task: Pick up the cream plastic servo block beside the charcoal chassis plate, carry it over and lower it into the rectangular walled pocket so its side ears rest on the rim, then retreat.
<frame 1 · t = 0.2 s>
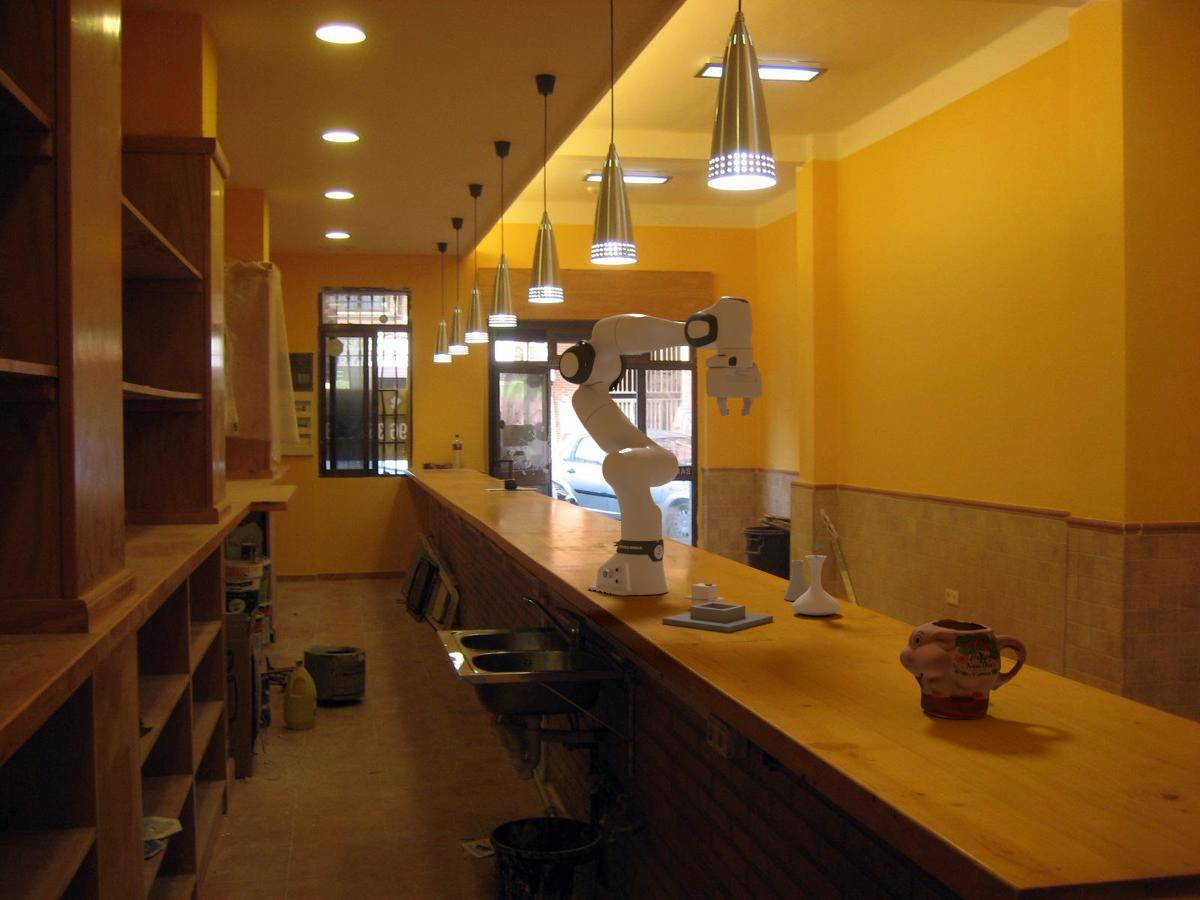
hand: (735, 416, 287), 47 cm above the worktop, tool pointing down, fingers open, 8 cm apart
flask: (797, 600, 293), on the worktop
sculpted ceramic mug: (963, 713, 179), on the worktop
chassis plate: (717, 622, 260), on the worktop
flower in vase: (817, 614, 271), on the worktop
servo block: (704, 609, 279), on the worktop
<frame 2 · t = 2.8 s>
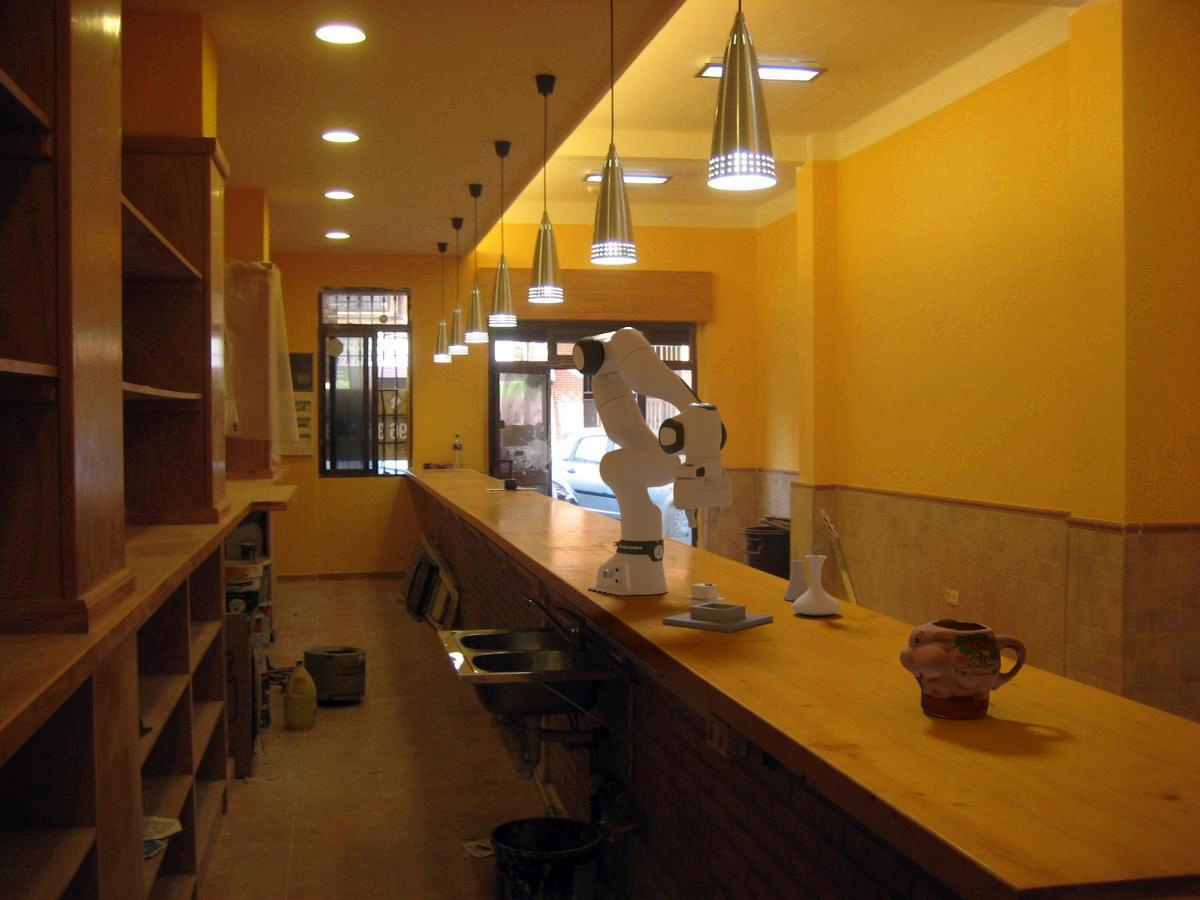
hand: (704, 526, 278), 20 cm above the worktop, tool pointing down, fingers open, 8 cm apart
nothing on the worktop moved.
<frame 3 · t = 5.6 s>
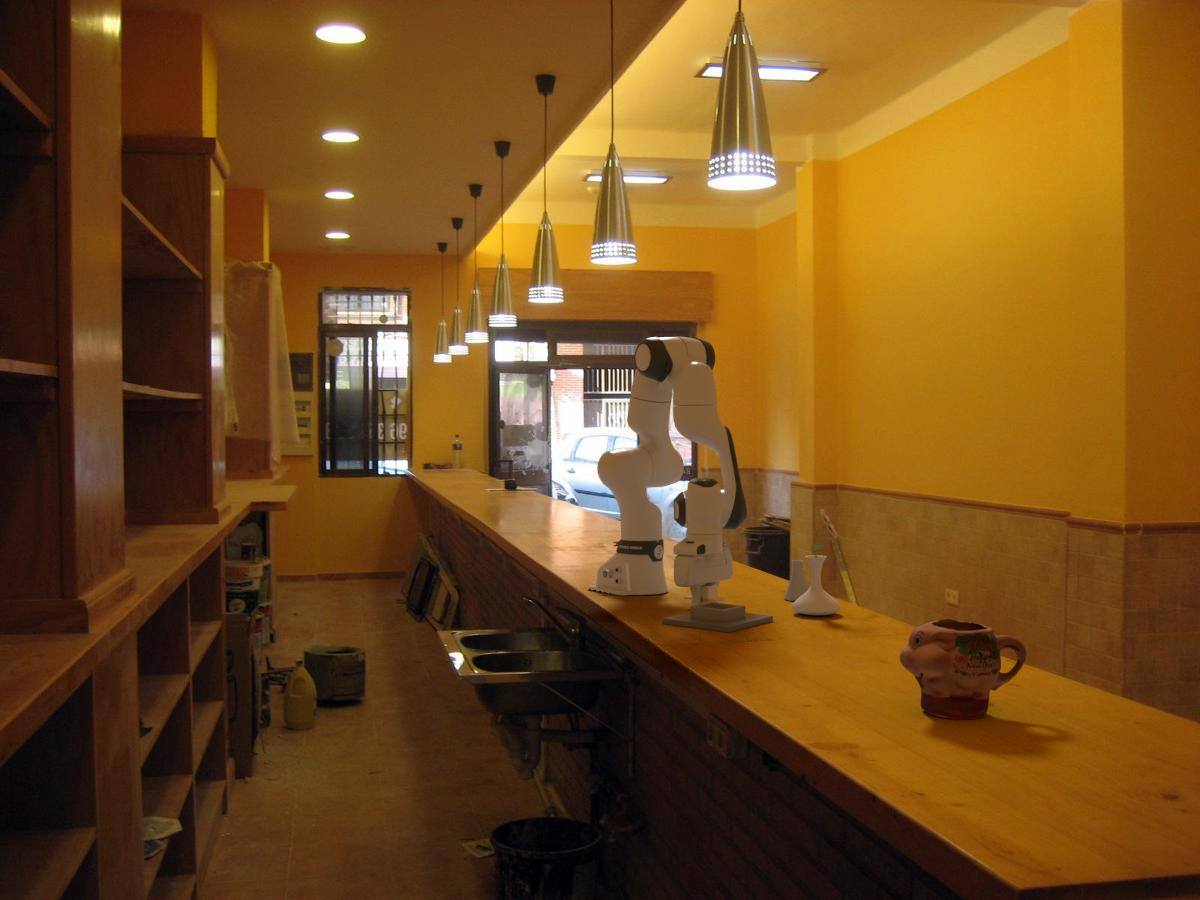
hand: (704, 601, 279), 2 cm above the worktop, tool pointing down, fingers closed on servo block, 4 cm apart
servo block: (704, 609, 279), on the worktop, touching gripper
everything else where it was.
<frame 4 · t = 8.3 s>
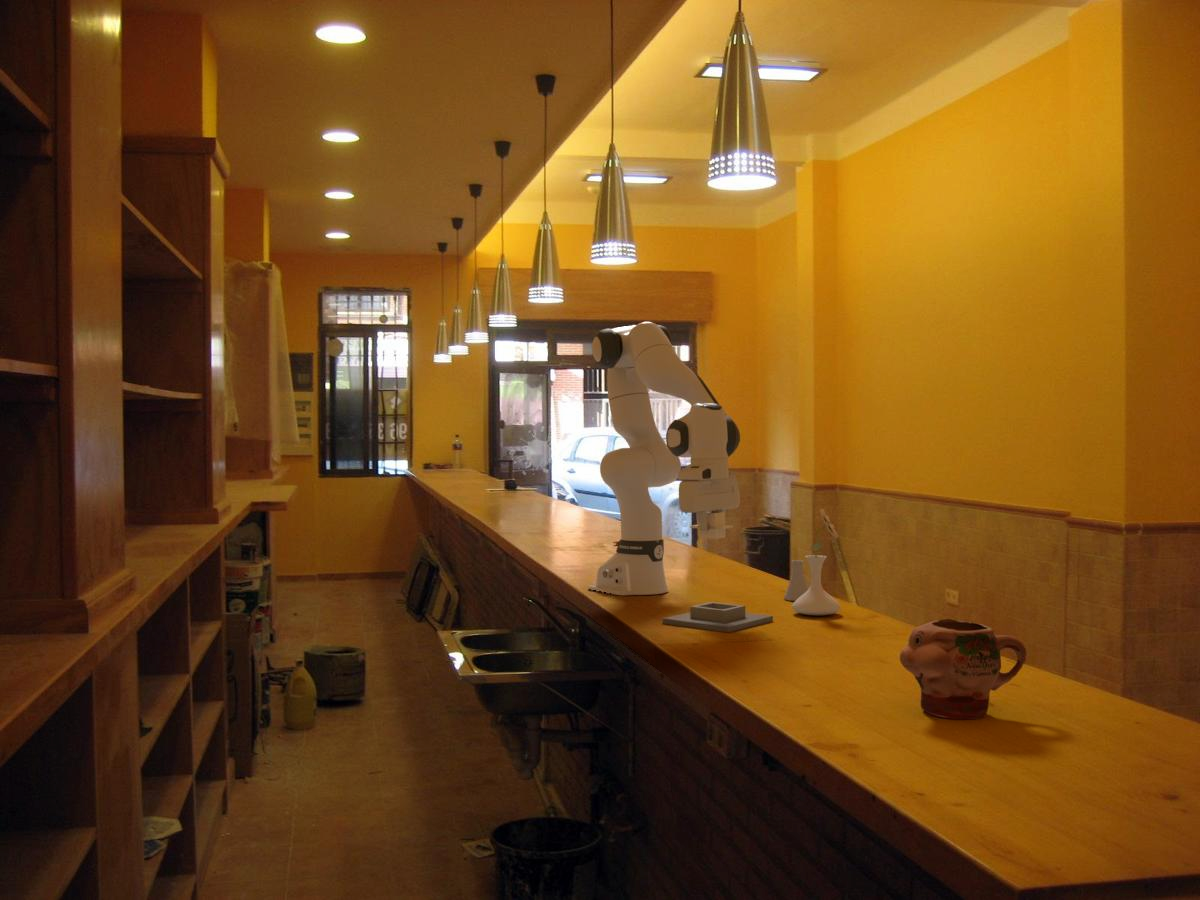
hand: (711, 529, 269), 20 cm above the worktop, tool pointing down, fingers closed on servo block, 4 cm apart
servo block: (711, 538, 269), point 18 cm above the worktop, touching gripper
everything else where it was.
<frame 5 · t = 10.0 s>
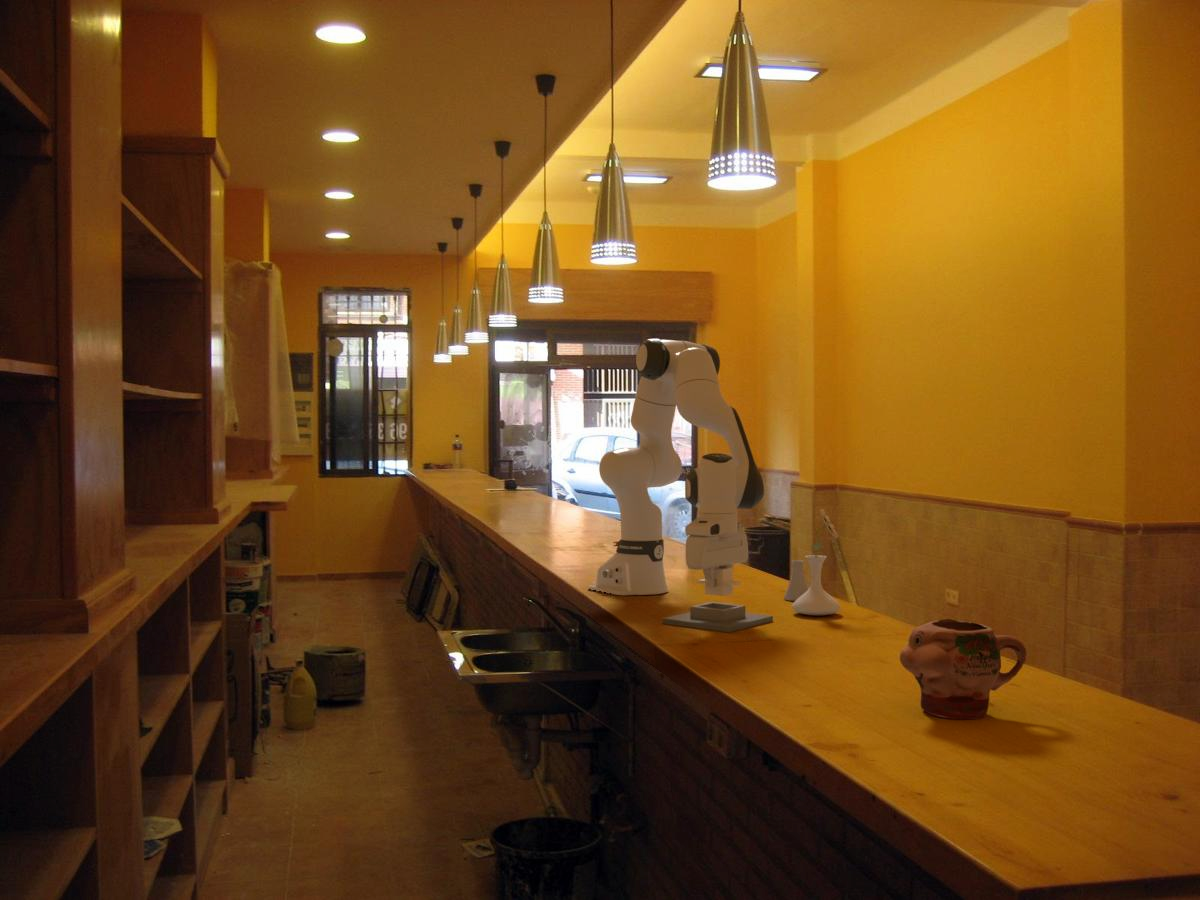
hand: (718, 585, 260), 8 cm above the worktop, tool pointing down, fingers closed on servo block, 4 cm apart
servo block: (718, 593, 260), point 7 cm above the worktop, touching gripper
everything else where it was.
when the fingers open (4 cm above the worktop, at t = 11.2 s): servo block drops 1 cm, resting on chassis plate.
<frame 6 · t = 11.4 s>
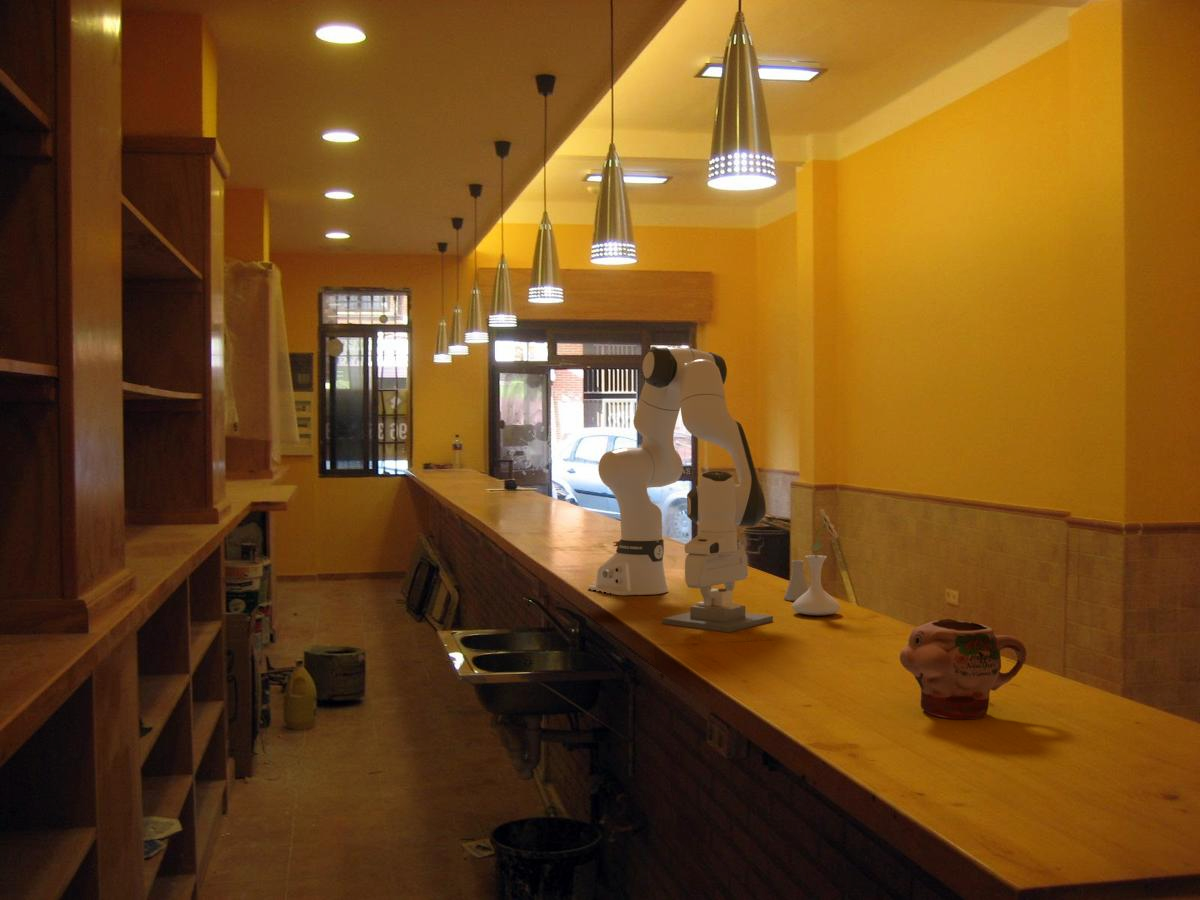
hand: (717, 603, 260), 4 cm above the worktop, tool pointing down, fingers open, 6 cm apart
servo block: (718, 616, 260), point 1 cm above the worktop, touching chassis plate
everything else where it was.
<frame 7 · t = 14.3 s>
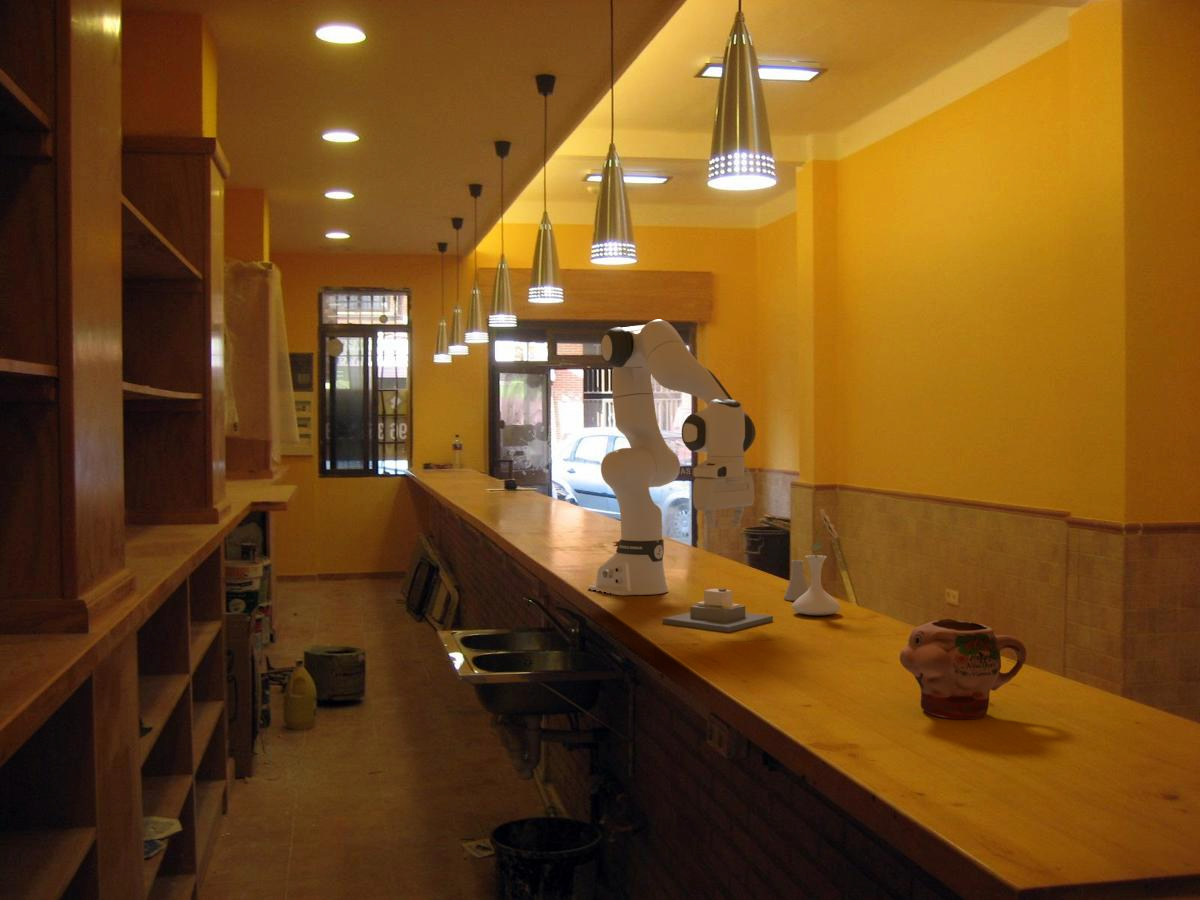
hand: (724, 527, 267), 21 cm above the worktop, tool pointing down, fingers open, 8 cm apart
nothing on the worktop moved.
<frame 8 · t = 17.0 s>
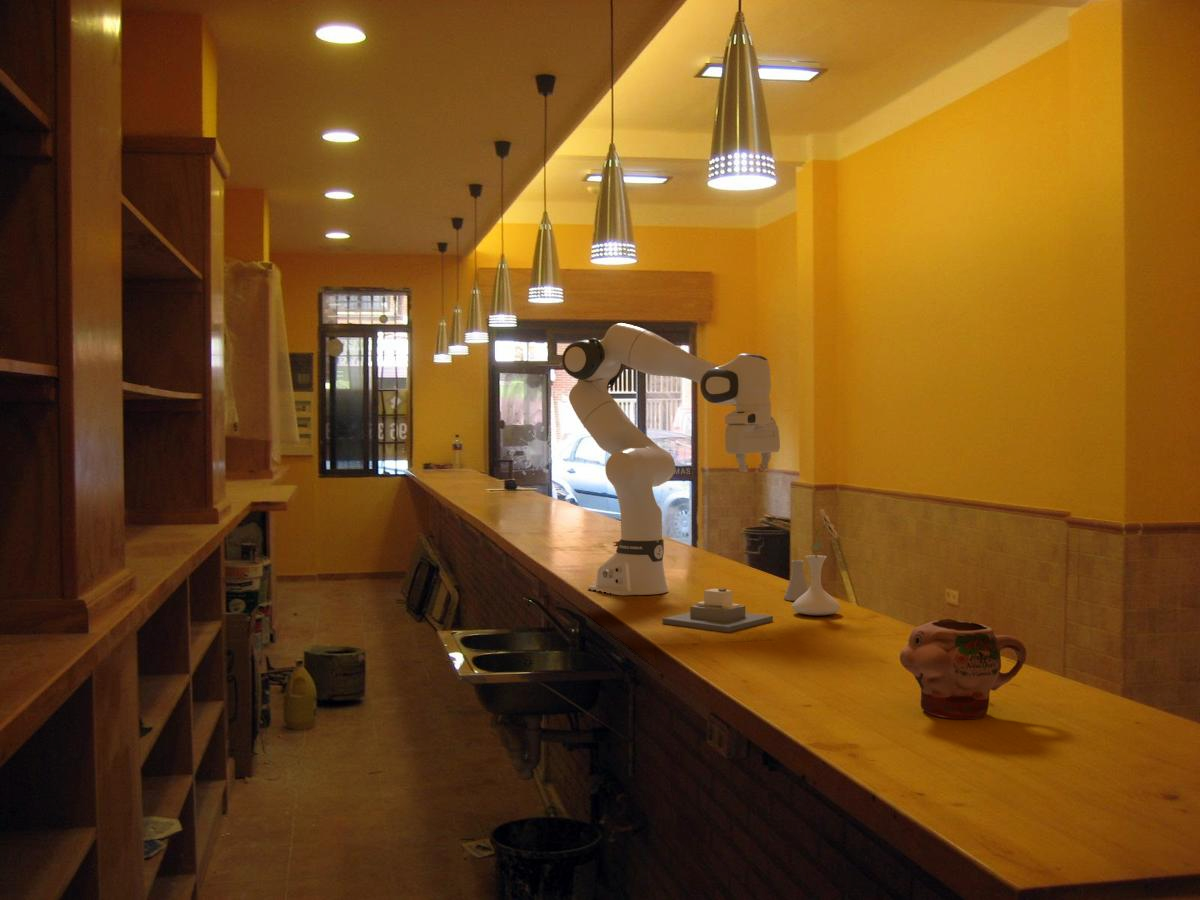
hand: (753, 471, 291), 33 cm above the worktop, tool pointing down, fingers open, 8 cm apart
nothing on the worktop moved.
at the end: servo block 0.1 cm off-centre on the chassis plate, point 1.3 cm above the chassis plate's base; servo block tilted 0°; the gripper is holding nothing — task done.
